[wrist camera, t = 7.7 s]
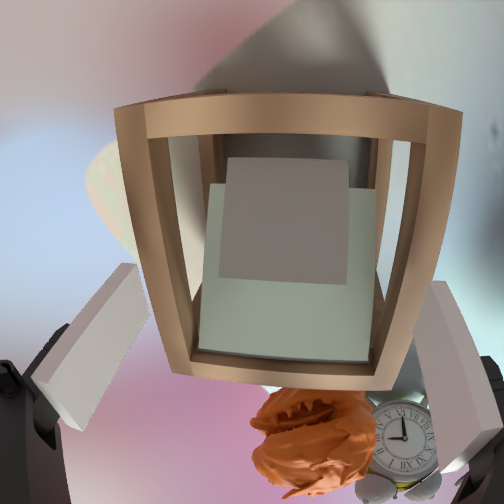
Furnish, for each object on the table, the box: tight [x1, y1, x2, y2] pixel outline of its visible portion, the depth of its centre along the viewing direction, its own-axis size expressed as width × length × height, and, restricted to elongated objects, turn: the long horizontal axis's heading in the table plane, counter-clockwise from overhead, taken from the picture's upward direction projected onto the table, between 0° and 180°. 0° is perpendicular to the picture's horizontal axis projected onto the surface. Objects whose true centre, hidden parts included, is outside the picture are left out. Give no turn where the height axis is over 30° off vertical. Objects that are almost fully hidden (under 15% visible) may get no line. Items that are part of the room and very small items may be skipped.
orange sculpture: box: [250, 387, 378, 499], centre depth 25 cm, size 11×11×18 cm
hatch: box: [197, 184, 376, 364], centre depth 19 cm, size 10×10×1 cm
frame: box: [114, 89, 463, 391], centre depth 20 cm, size 14×16×12 cm
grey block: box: [218, 157, 349, 285], centre depth 16 cm, size 5×5×6 cm
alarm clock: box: [355, 395, 442, 504], centre depth 31 cm, size 12×7×15 cm, turn 87°
